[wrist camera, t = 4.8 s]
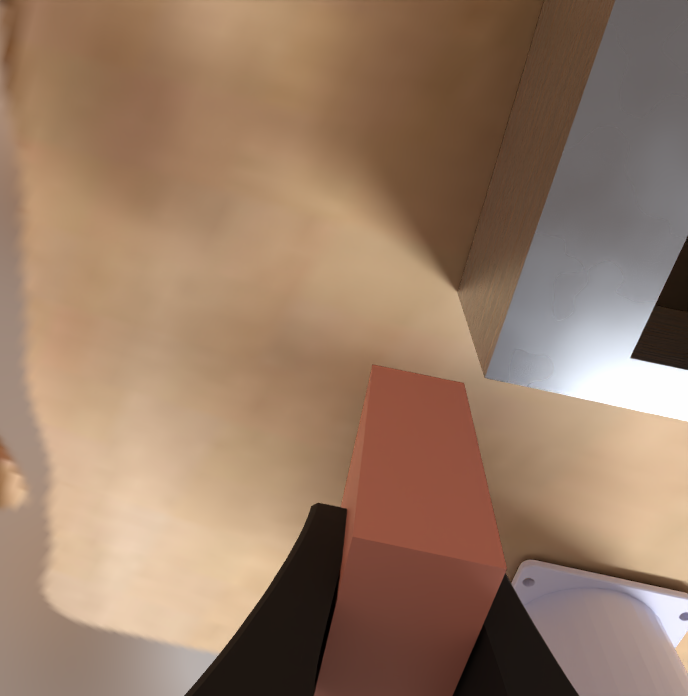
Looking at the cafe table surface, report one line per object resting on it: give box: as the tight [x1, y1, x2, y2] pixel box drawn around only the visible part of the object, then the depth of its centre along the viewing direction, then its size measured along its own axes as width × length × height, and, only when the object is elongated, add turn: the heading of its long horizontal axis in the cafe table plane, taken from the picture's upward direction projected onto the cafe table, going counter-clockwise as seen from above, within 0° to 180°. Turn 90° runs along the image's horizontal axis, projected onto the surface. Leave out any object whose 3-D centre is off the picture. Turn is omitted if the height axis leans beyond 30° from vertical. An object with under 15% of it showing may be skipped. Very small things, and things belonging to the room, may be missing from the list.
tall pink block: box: [313, 365, 507, 696], centre depth 10 cm, size 5×2×5 cm, turn 170°
